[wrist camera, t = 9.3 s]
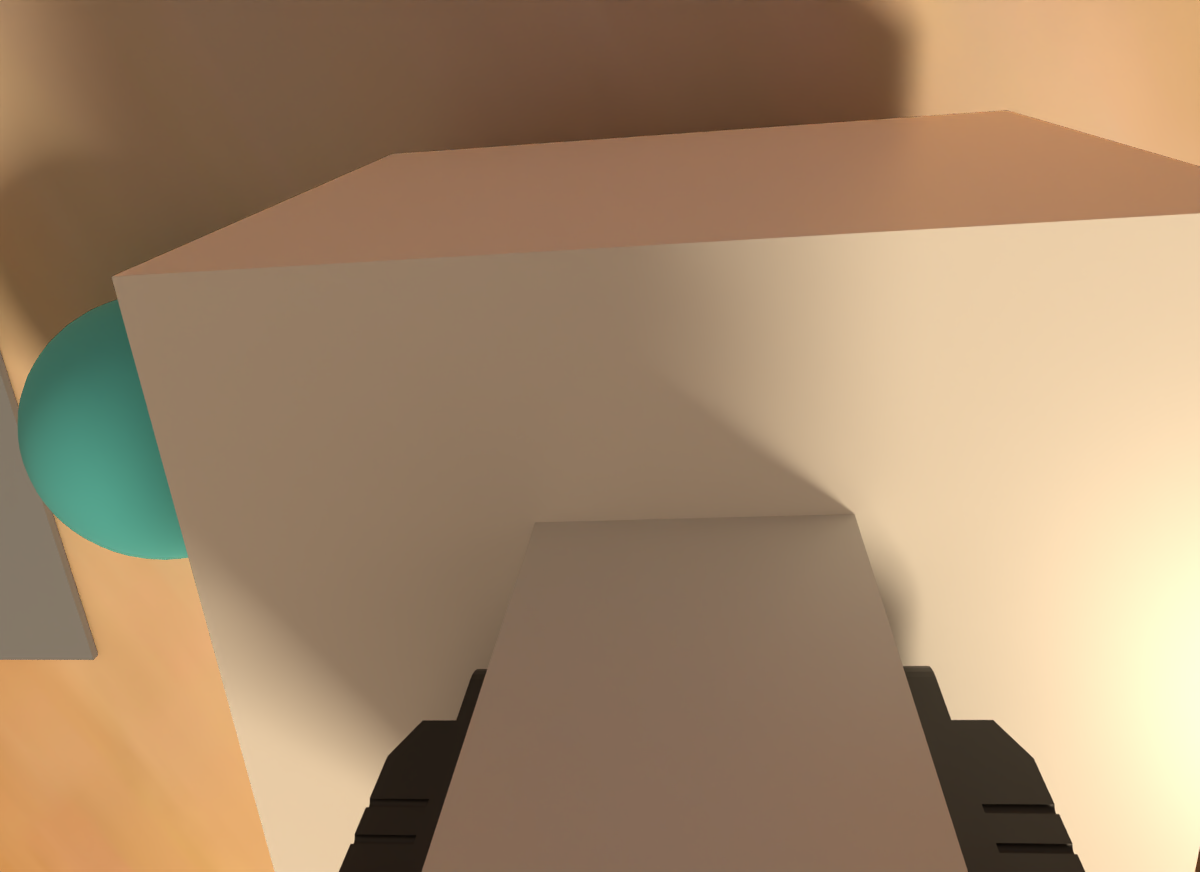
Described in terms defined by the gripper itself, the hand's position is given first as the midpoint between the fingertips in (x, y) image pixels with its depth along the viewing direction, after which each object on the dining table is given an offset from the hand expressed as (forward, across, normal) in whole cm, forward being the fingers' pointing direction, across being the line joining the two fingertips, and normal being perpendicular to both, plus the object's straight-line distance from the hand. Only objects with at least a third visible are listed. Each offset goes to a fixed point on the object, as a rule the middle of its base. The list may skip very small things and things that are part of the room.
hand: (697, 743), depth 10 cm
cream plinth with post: (+9, 0, 0) cm, 9 cm away
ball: (+8, +10, 0) cm, 13 cm away
